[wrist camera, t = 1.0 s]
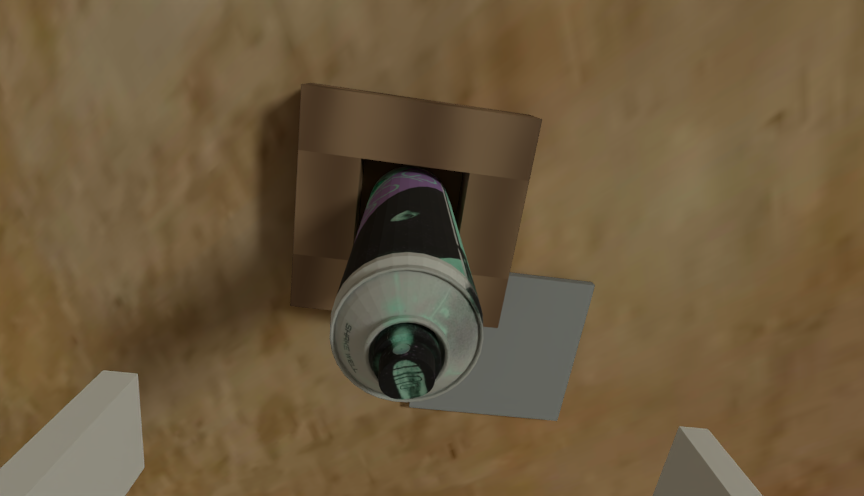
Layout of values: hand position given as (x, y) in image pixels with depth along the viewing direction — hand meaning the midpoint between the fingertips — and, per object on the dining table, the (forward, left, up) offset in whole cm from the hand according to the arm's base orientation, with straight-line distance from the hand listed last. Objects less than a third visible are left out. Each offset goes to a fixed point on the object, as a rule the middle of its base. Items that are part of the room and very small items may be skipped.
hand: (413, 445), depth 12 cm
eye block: (0, 0, -23) cm, 23 cm away
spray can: (0, 0, -23) cm, 23 cm away
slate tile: (+8, -10, -23) cm, 26 cm away
